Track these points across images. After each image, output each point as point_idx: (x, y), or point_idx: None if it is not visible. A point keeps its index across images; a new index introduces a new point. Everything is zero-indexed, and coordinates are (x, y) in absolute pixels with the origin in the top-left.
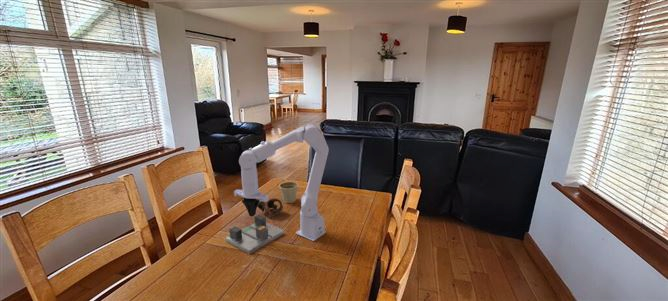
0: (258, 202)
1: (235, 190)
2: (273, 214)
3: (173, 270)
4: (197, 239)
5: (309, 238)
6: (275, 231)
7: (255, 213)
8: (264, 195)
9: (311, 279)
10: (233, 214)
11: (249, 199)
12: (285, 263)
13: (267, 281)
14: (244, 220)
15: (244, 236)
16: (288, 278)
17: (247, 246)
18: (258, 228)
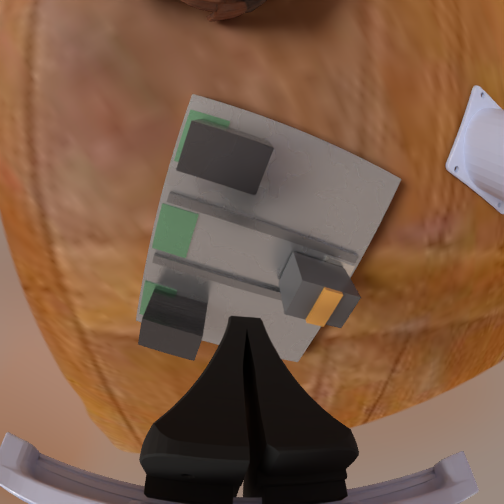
0: (317, 409)
1: (8, 491)
2: (252, 6)
3: (135, 420)
4: (47, 318)
5: (494, 205)
6: (361, 202)
7: (263, 326)
8: (440, 501)
9: (473, 355)
10: (6, 92)
11: (236, 495)
12: (424, 342)
13: (386, 397)
14: (82, 109)
15: (213, 293)
16: (430, 374)
17: (276, 346)
18: (302, 311)
